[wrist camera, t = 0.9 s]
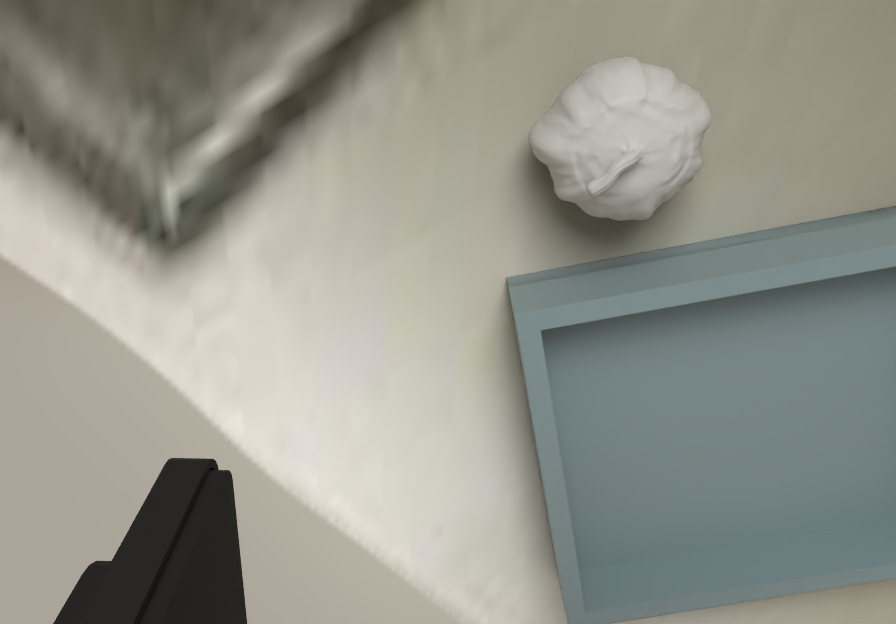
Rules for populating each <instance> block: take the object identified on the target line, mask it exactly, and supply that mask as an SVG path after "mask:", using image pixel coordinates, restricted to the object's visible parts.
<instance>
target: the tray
mask: <svg viewBox="0 0 896 624" xmlns="http://www.w3.org/2000/svg"><path fill="white" fill-rule="evenodd" d="M506 279H507V285H508V291H509V297H510V303H511V308H512V314H513V320H514V326H515V331H516V337H517V343H518V349H519V355H520V360H521V366H522V372H523V378H524V383H525V389H526V395H527V401H528V407H529V412H530V418H531V424H532V430H533V435H534V441H535V447H536V453H537V459H538V464H539V470H540V476H541V482H542V487H543V493H544V499H545V505H546V511H547V516H548V522H549V528H550V534H551V540H552V545H553V551H554V557H555V563H556V568H557V574H558V579H559V584H560V588H561V593H562V598H563V603H564V608H565V612H566V617H567V622H568V624H610V623H616V622H622V621H629V620H635V619H641V618H648V617H654V616H660V615H667V614H673V613H679V612H686V611H692V610H698V609H704V608H711V607H717V606H723V605H730V604H736V603H742V602H749V601H755V600H761V599H768V598H774V597H780V596H787V595H793V594H799V593H806V592H812V591H818V590H825V589H831V588H837V587H843V586H850V585H856V584H862V583H869V582H875V581H881V580H888V579H894V578H896V206H893V207H888V208H883V209H877V210H872V211H866V212H861V213H856V214H850V215H845V216H839V217H834V218H828V219H823V220H818V221H812V222H807V223H801V224H796V225H790V226H785V227H780V228H774V229H769V230H763V231H758V232H753V233H747V234H742V235H736V236H731V237H725V238H720V239H715V240H709V241H704V242H698V243H693V244H687V245H682V246H677V247H671V248H666V249H660V250H655V251H650V252H644V253H639V254H633V255H628V256H622V257H617V258H612V259H606V260H601V261H595V262H590V263H584V264H579V265H574V266H568V267H563V268H557V269H552V270H546V271H541V272H536V273H530V274H525V275H519V276H514V277H509V278H506Z"/></svg>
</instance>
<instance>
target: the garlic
mask: <svg viewBox="0 0 896 624" xmlns="http://www.w3.org/2000/svg"><path fill="white" fill-rule="evenodd" d="M710 121H711V113H710V110H709V108H708V106H707V104H706V102H705V101H704V99H703V98H702V96H701V95H700V94H699V93H698V92H697V91H695V90H694V89H692V88H690V87H689V86H687V85H685V84H683V83H681V82H680V81H678V80H677V78H676V76H675V74H674V73H673V72H672V71H671V70H670V69H668V68H664V67H658V66H656V65H652V64H644V63H640V62H639V61H638V60H636V59H635V58H632V57H621V58H618V59H608V60H605V61H603V62H601V63H597V64H594V65H591V66H589V67H588V68H587V69H585V70H584V71H583V73H582V74H581V75H580V76H579V77H578V78H577V79H576V80H575V81H573V82H572V83H571V84H570V85H568V86H567V87H565V88H564V90H563V91H562V92H561V94H560V95H559V96H558V98H557V99H556V101H555V102H554V104H553V105H552V107H551V109H550V110H549V112H548V113H547V114H546V115H545V116H544V117H543V118H542V119H540V120H539V121H538V122H537V123H536V124H535V125H534V126H533V127H532V128H531V130H530V132H529V137H528V139H529V143H530V145H531V146H532V149H533V153H534V155H535V157H536V158H537V159H538V160H539V161H541V162H542V163H544V164H546V165H547V167H548V169H549V171H550V173H551V178H552V180H553V182H554V191H555V194H556V195H557V197H558V198H560V199H561V200H563V201H569V202H572V203H575V204H577V205H578V206H579V207H580V208H581V209H582V210H583V211H584V212H585V213H587V214H589V215H591V216H594V217H600V218H605V217H608V218H611V219H613V220H620V221H624V220H647V219H649V218H650V217H651V216H652V214H653V213H654V211H655V210H656V209H657V208H658V207H659V206H660V205H661V204H662V203H664V202H667V201H669V200H670V199H671V198H672V197H674V196H675V195H676V194H677V192H678V191H679V190H680V189H681V188H682V187H683V186H685V185H686V184H687V183H689V182H690V181H691V180H692V178H693V176H694V175H695V174H696V173H697V172H698V171H699V170H700V168H701V167H702V164H703V161H702V159H701V157H700V144H701V141H702V138H703V134H704V132H705V131H706V130H707V128H708V127H709V124H710Z"/></svg>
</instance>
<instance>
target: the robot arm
mask: <svg viewBox="0 0 896 624" xmlns="http://www.w3.org/2000/svg"><path fill="white" fill-rule="evenodd" d="M53 624H247V618H246V608H245V598H244V588H243V578H242V569H241V558H240V548H239V538H238V529H237V519H236V508H235V499H234V489H233V479H232V475H231V473H230V471H229V470H218V465H217V463H216V461H215V460H214V459H191V458H171V459H169V460H168V461H167V462H166V464H165V465H164V467H163V469H162V471H161V473H160V474H159V476H158V478H157V480H156V482H155V484H154V485H153V487H152V489H151V491H150V493H149V494H148V496H147V498H146V500H145V502H144V504H143V505H142V507H141V509H140V511H139V512H138V514H137V516H136V518H135V520H134V521H133V523H132V525H131V527H130V529H129V531H128V532H127V534H126V536H125V538H124V540H123V541H122V543H121V545H120V547H119V549H118V550H117V552H116V554H115V556H114V558H113V559H112V561H95V562H94V563H92V564H90V565H89V566H88V568H87V569H86V570H85V571H84V573H83V574H82V576H81V577H80V579H79V581H78V582H77V584H76V586H75V588H74V590H73V591H72V593H71V594H70V596H69V598H68V599H67V601H66V603H65V605H64V606H63V608H62V610H61V611H60V613H59V615H58V616H57V618H56V620H55V622H54V623H53Z"/></svg>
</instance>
